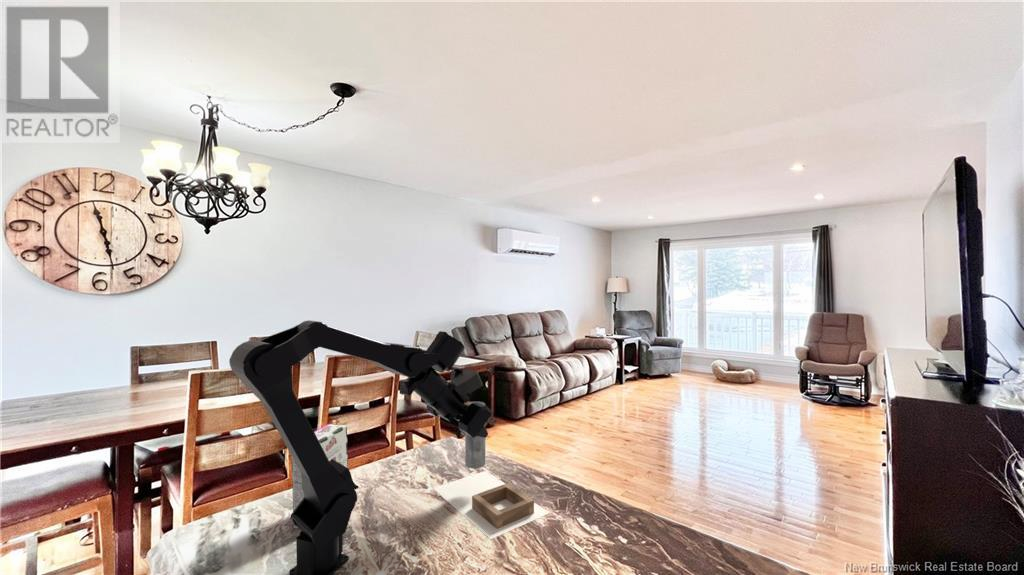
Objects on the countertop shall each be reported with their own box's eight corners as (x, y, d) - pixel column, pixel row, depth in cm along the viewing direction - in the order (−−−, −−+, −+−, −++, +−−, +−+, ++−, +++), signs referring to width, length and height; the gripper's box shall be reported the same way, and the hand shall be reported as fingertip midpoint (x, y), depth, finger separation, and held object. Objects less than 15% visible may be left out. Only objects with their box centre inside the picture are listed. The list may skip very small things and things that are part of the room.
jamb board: (549, 517, 81) (549, 512, 81) (490, 544, 73) (490, 539, 73) (485, 474, 100) (485, 470, 100) (432, 492, 91) (432, 488, 91)
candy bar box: (328, 499, 89) (327, 422, 89) (349, 501, 88) (348, 424, 88) (290, 529, 78) (289, 442, 78) (314, 532, 77) (313, 444, 77)
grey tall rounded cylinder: (480, 469, 87) (480, 408, 87) (461, 466, 89) (461, 406, 89) (488, 461, 91) (488, 402, 91) (470, 458, 93) (470, 400, 93)
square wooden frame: (534, 513, 81) (533, 500, 81) (497, 529, 76) (497, 515, 76) (507, 494, 88) (507, 483, 88) (472, 508, 83) (472, 495, 83)
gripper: (483, 365, 80) (527, 412, 87) (438, 353, 95) (479, 393, 102) (447, 413, 75) (496, 459, 82) (406, 392, 90) (451, 432, 97)
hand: (480, 432), depth 91 cm, fingers closed on grey tall rounded cylinder, 4 cm apart
